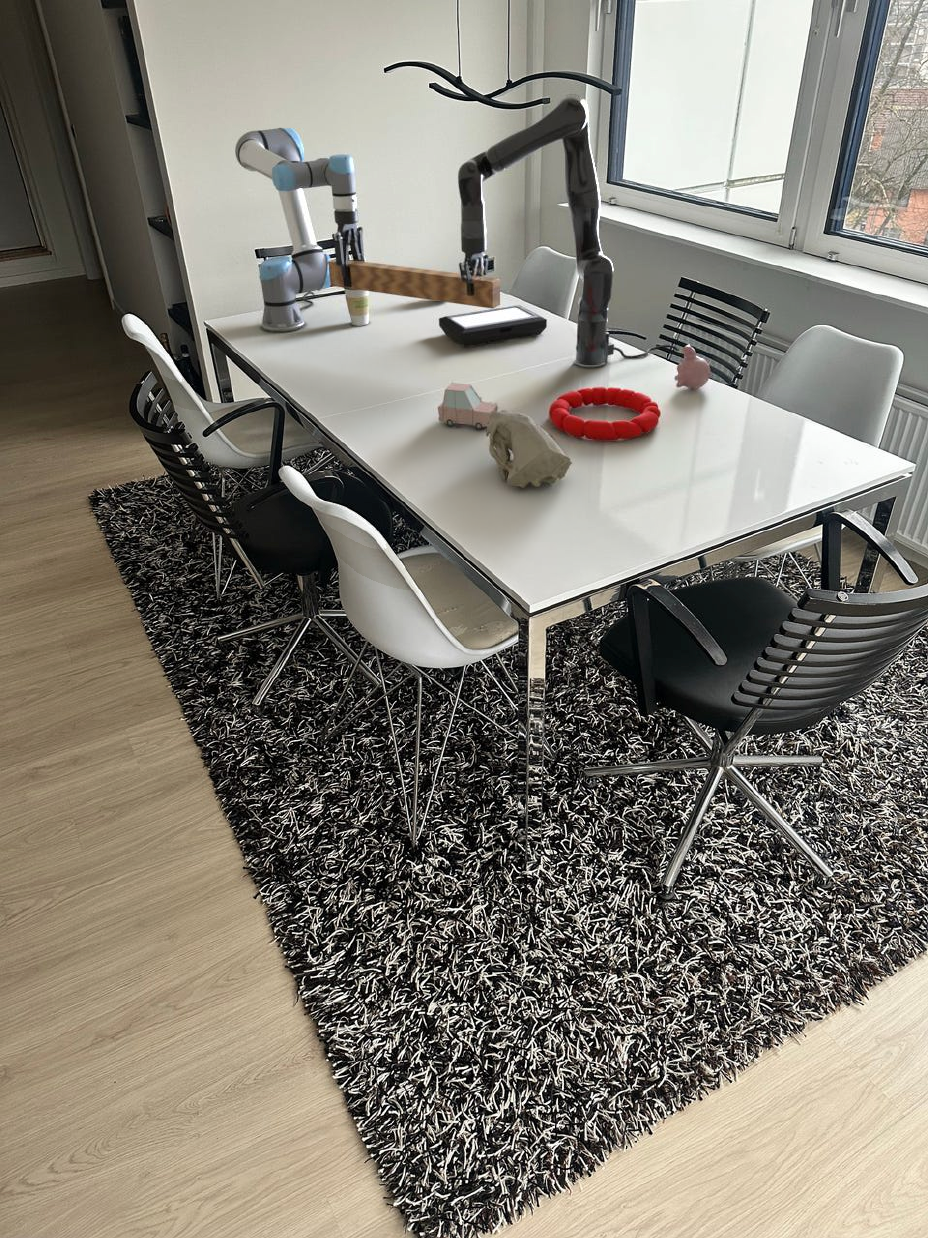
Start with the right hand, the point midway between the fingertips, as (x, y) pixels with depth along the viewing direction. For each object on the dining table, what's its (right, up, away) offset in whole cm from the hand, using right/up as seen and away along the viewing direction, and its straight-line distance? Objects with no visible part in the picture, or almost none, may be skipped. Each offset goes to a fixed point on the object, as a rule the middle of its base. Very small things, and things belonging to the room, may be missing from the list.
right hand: (474, 292), depth 275 cm
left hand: (-41, +11, +23) cm, 48 cm away
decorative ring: (+35, -47, -31) cm, 66 cm away
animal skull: (+11, -64, -55) cm, 85 cm away
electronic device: (+7, -2, +36) cm, 36 cm away
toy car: (-2, -47, -30) cm, 55 cm away
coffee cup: (-42, +8, +52) cm, 67 cm away
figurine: (+63, -33, -13) cm, 73 cm away
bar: (-20, +4, +13) cm, 24 cm away
